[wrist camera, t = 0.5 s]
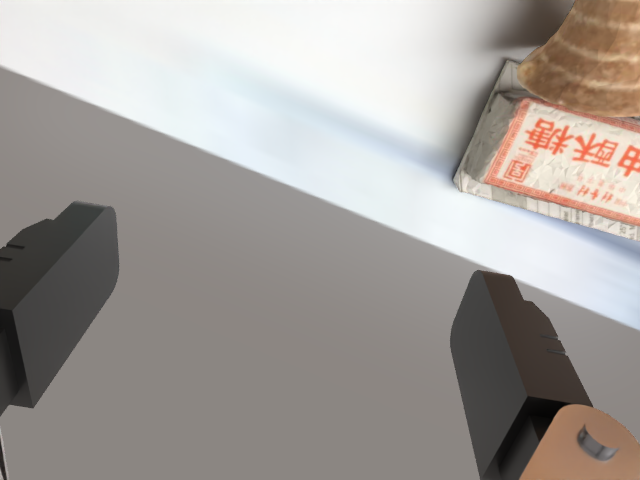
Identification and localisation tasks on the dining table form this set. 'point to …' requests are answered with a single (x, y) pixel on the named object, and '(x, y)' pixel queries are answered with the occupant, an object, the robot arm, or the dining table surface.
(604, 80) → the orange-brown rounded sculpted piece
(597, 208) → the packaged product
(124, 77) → the dining table surface
